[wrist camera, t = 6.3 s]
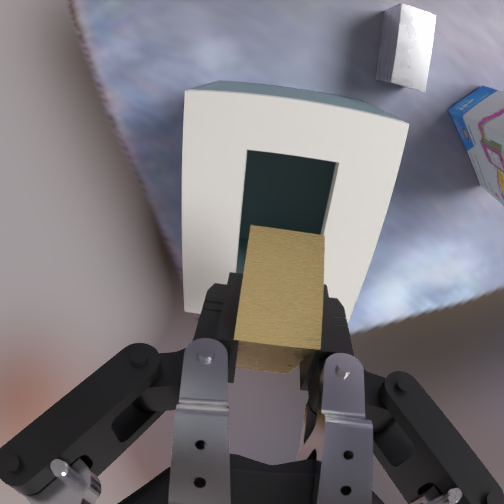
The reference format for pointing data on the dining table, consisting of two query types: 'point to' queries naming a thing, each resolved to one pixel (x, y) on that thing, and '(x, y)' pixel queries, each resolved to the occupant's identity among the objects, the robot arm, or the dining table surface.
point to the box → (283, 179)
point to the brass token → (280, 299)
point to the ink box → (483, 136)
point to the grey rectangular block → (406, 47)
